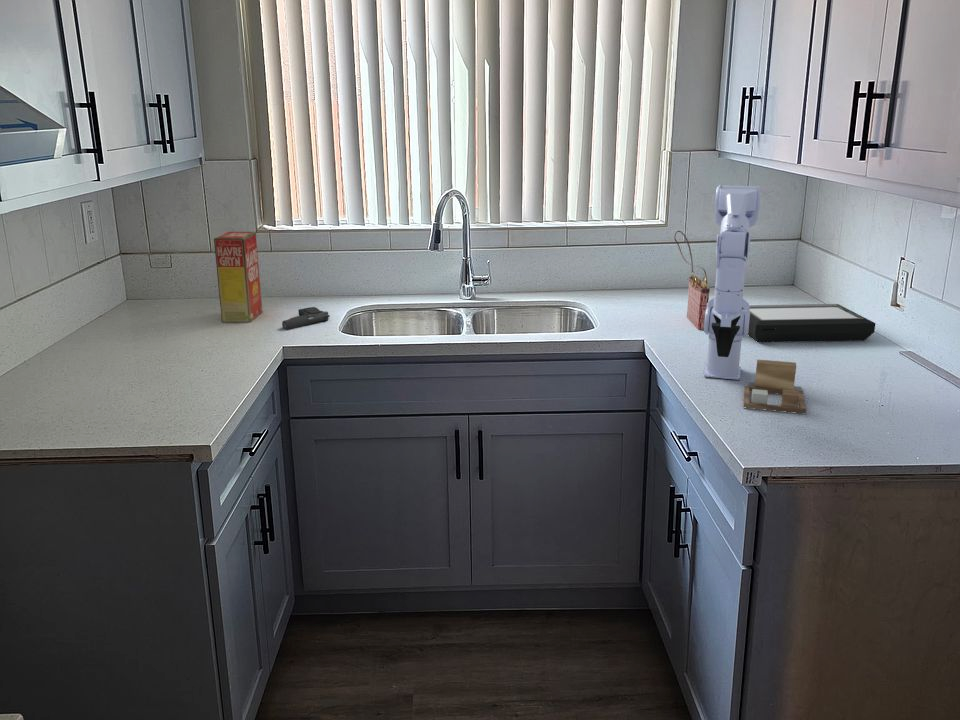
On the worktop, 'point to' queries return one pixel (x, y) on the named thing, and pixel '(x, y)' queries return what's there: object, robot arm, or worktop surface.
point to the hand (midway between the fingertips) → (723, 351)
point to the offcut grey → (759, 396)
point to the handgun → (305, 318)
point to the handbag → (696, 296)
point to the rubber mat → (794, 386)
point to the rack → (773, 407)
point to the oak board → (775, 374)
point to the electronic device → (807, 323)
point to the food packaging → (238, 276)
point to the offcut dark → (790, 398)
